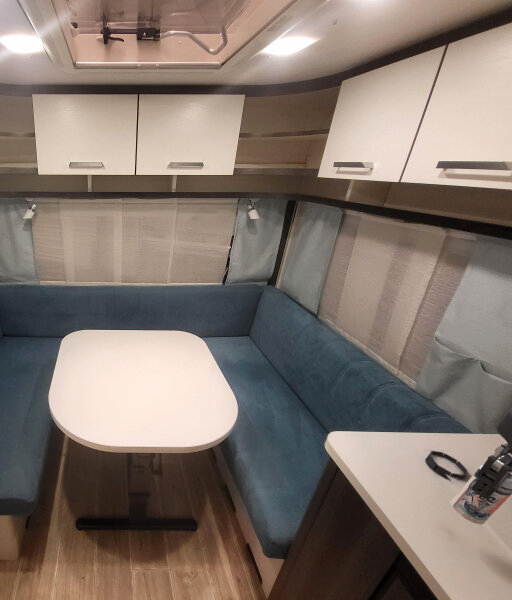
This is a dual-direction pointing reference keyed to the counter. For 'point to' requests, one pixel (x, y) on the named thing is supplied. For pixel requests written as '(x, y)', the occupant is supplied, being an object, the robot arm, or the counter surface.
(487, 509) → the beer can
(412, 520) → the counter surface
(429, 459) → the black ring
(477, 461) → the counter surface
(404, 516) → the counter surface
